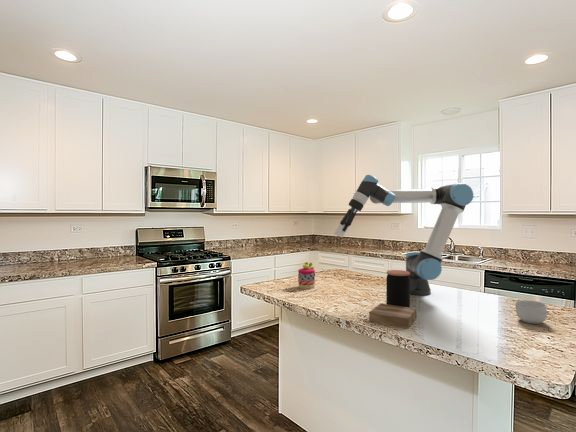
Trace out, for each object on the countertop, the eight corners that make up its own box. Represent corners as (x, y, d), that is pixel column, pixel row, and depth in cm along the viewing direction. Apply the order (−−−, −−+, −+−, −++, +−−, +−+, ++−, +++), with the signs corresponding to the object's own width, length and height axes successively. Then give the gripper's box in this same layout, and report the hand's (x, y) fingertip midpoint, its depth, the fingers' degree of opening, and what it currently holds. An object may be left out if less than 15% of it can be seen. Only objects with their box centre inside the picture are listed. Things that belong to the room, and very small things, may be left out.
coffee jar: (413, 309, 159) (413, 271, 159) (404, 314, 152) (404, 274, 151) (392, 305, 167) (392, 269, 166) (382, 309, 159) (382, 271, 159)
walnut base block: (380, 311, 155) (380, 303, 155) (416, 317, 147) (416, 308, 147) (369, 321, 142) (369, 312, 142) (408, 328, 133) (408, 318, 133)
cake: (315, 289, 200) (315, 264, 200) (298, 289, 200) (298, 264, 200) (314, 285, 211) (314, 261, 210) (297, 285, 211) (297, 261, 211)
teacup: (548, 327, 134) (548, 307, 134) (515, 323, 140) (515, 304, 140) (544, 318, 146) (544, 300, 146) (514, 314, 152) (514, 296, 152)
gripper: (348, 199, 192) (329, 231, 192) (356, 196, 167) (334, 233, 167) (359, 206, 192) (340, 237, 192) (369, 204, 167) (347, 240, 167)
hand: (337, 235), depth 179 cm, fingers open, 13 cm apart
